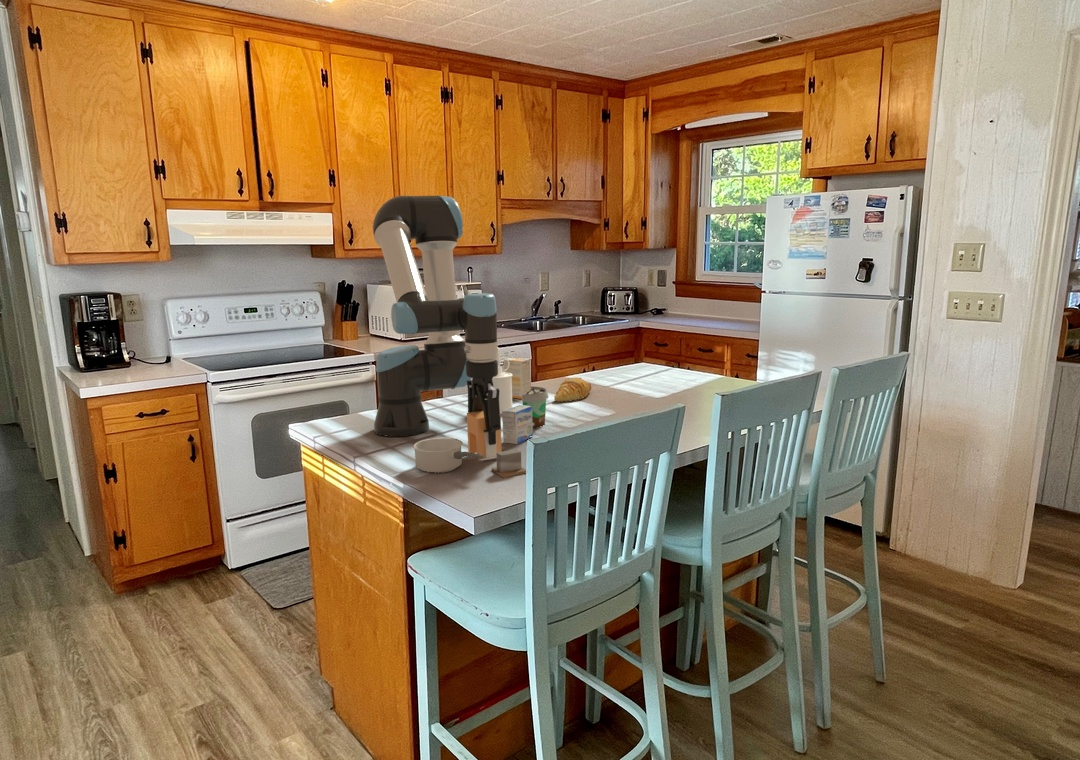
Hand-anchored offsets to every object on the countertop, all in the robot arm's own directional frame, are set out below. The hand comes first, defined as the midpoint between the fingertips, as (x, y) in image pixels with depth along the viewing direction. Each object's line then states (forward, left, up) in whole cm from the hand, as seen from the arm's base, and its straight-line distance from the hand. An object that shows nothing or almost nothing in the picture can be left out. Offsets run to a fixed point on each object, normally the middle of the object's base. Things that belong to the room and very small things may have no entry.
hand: (484, 452), depth 166 cm
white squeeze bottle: (-41, +22, -1) cm, 46 cm away
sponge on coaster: (+13, 0, -1) cm, 14 cm away
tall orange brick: (0, 0, 0) cm, 0 cm away
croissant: (-45, +53, -1) cm, 69 cm away
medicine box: (-9, +13, -1) cm, 16 cm away
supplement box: (-56, +37, -1) cm, 67 cm away
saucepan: (+5, -11, -1) cm, 12 cm away
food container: (-20, +25, -1) cm, 32 cm away
